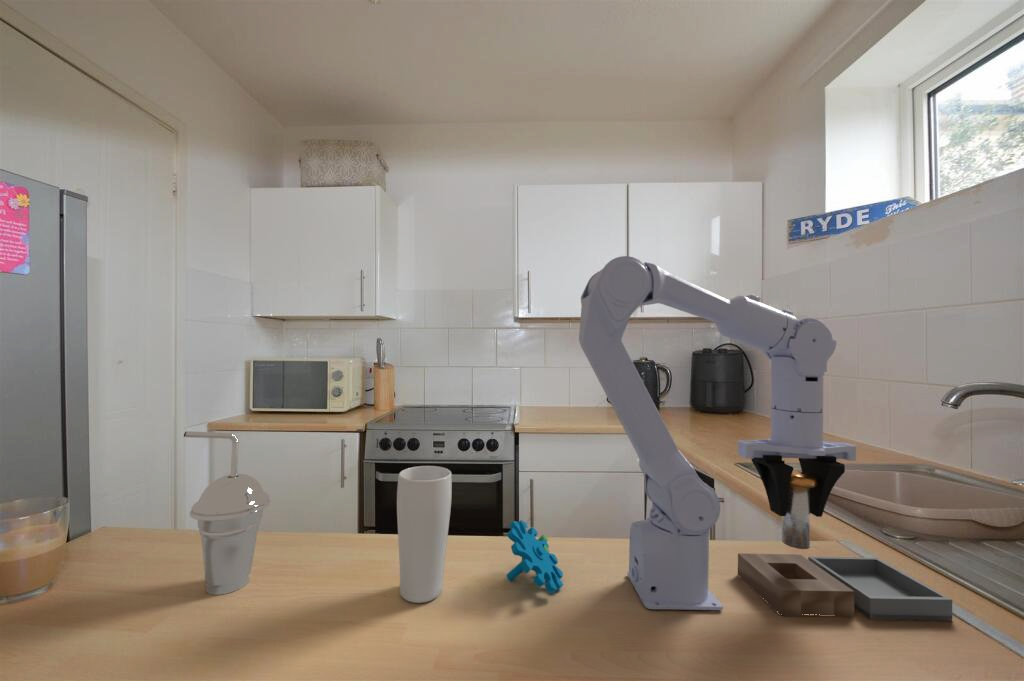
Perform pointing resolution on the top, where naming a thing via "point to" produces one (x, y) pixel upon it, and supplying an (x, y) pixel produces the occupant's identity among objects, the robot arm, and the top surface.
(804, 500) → the pin
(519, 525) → the gear
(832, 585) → the holder block
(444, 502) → the drinking glass
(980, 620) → the top surface
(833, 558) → the tray
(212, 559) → the cup with straw
